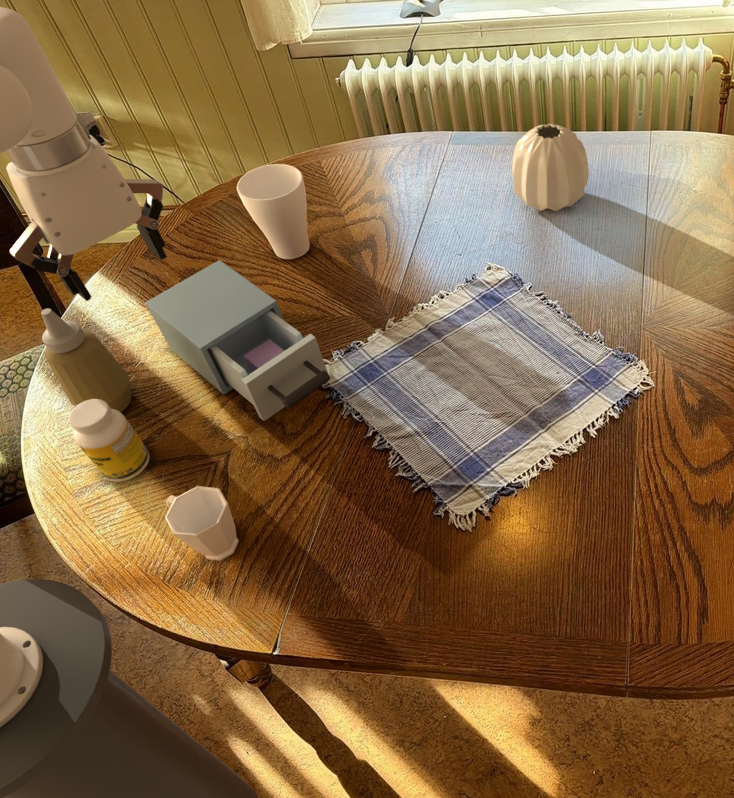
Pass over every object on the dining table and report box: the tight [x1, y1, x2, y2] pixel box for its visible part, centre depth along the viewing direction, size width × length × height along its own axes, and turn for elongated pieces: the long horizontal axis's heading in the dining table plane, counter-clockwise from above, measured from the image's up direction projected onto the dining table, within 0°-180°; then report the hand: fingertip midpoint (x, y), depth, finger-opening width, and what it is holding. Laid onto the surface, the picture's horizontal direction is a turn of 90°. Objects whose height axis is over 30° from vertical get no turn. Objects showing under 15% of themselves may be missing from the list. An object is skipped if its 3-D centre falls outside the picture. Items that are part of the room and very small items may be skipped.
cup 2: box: [236, 163, 311, 260], centre depth 125 cm, size 10×10×14 cm
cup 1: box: [164, 485, 240, 561], centre depth 90 cm, size 7×10×8 cm
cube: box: [244, 339, 284, 373], centre depth 106 cm, size 4×5×4 cm
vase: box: [511, 123, 590, 212], centre depth 133 cm, size 14×14×13 cm
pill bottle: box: [68, 399, 150, 483], centre depth 96 cm, size 6×6×11 cm
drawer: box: [207, 310, 331, 422], centre depth 105 cm, size 18×11×8 cm, turn 49°
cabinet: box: [144, 259, 284, 395], centre depth 111 cm, size 15×13×10 cm
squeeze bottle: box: [40, 307, 132, 413], centre depth 101 cm, size 8×8×18 cm
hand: (122, 274), depth 89 cm, fingers open, 9 cm apart
